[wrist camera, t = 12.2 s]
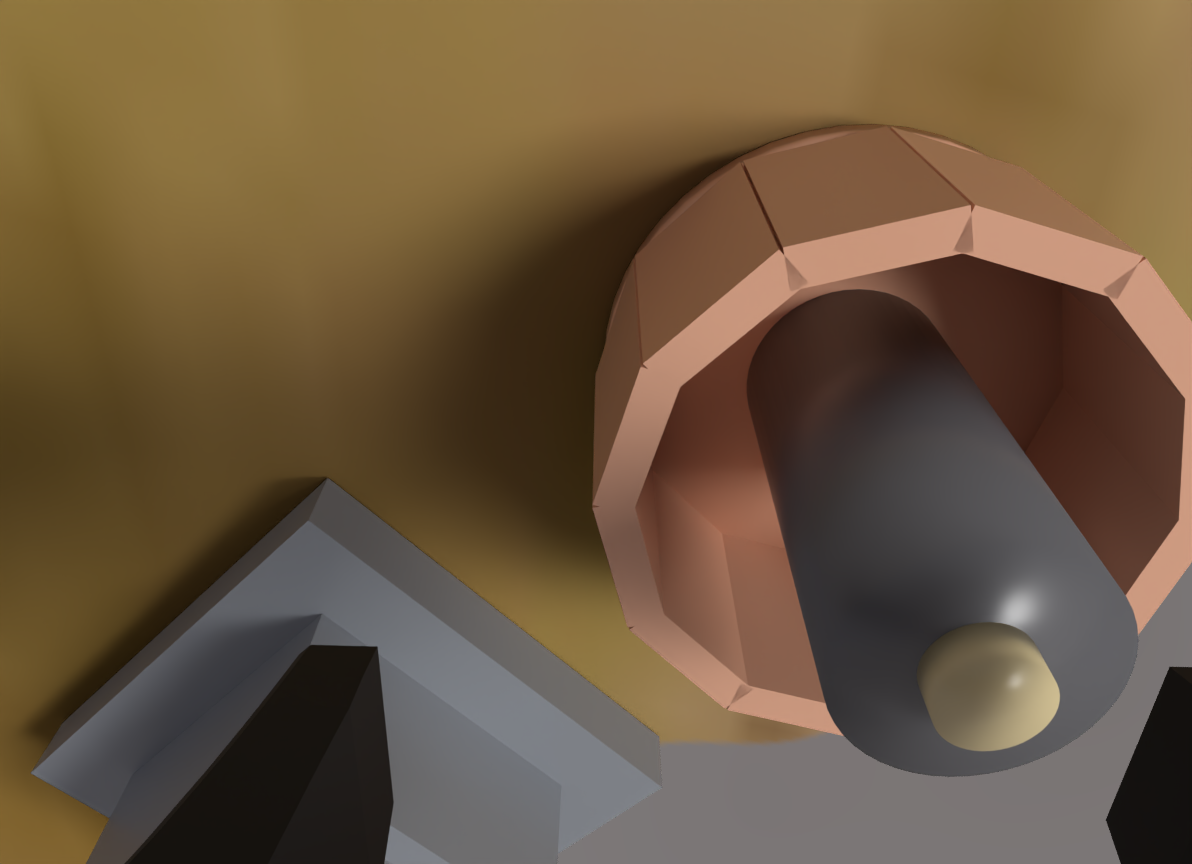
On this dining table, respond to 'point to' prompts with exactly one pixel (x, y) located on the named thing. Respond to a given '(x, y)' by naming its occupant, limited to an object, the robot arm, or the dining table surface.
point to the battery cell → (928, 548)
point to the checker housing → (410, 695)
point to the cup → (963, 318)
